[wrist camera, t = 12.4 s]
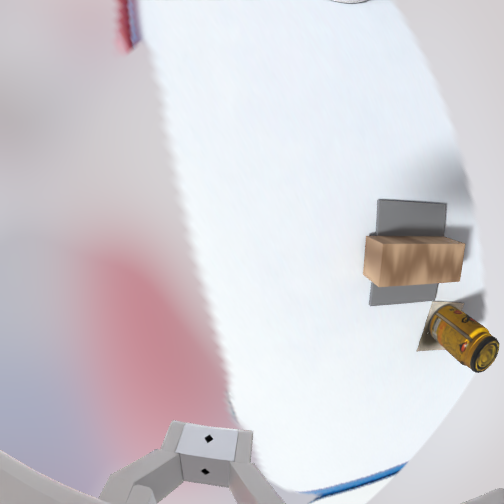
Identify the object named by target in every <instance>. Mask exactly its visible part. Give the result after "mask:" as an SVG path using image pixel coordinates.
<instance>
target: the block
mask: <svg viewBox="0 0 504 504" xmlns="http://www.w3.org/2000/svg"><path fill="white" fill-rule="evenodd" d="M464 249H465V244H464V243H461V242H458V241H456V240H453V239H450V238H447V237H439V236H366V245H365V258H364V270H363V275H364V276H366V277H367V278H368V279H369V280H371V281H372V282H373V283H374V284H375V285H377V286H378V287H389V286H406V285H420V284H434V283H447V282H459V281H460V277H461V271H462V264H463V257H464Z"/></svg>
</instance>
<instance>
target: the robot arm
mask: <svg viewBox="0 0 504 504" xmlns="http://www.w3.org/2000/svg"><path fill="white" fill-rule="evenodd" d="M333 1H337V2H344V3H358V2H363V1H366V0H333ZM252 440H253V431H249V430H239V429H228V428H219V427H209V426H203V425H198V424H192V423H187V422H180V421H176V420H173V421H172V422H171V424H170V426H169V429H168V431H167V434H166V436H165V439H164V441H163V444H162V446H161V449H160V450H159V449H155V450H154V451H152V452H150V453H149V454H147V455H145V456H144V457H142V458H140V459H138V460H137V461H135V462H133V463H131V464H130V465H128V466H126V467H124V468H122V469H121V470H119V471H117V472H115V473H113V474H111V475H110V477H109V479H108V481H107V483H106V485H105V486H104V488H103V490H102V492H101V494H100V496H99V498H98V499H97V498H95V497H92V496H90V495H87V494H84V493H82V492H80V491H77V490H75V489H73V488H70V487H68V486H66V485H64V484H62V483H60V482H57V481H55V480H53V479H51V478H49V477H47V476H45V475H43V474H41V473H39V472H37V471H36V470H34V469H32V468H30V467H28V466H26V465H25V464H23V463H21V462H19V461H18V460H16V459H14V458H13V457H11V456H9V455H8V454H6V453H5V452H3V451H1V450H0V504H157V503H158V502H159V501H161V500H162V499H163V498H164V497H166V496H167V495H168V494H169V493H171V492H172V491H173V490H174V489H176V488H177V487H178V486H179V485H180V484H182V483H183V481H188V482H194V483H201V484H208V485H215V486H221V487H228V488H229V490H230V492H231V493H232V495H233V497H234V499H235V500H236V502H237V504H286V503H284V501H283V500H282V499H281V497H280V496H279V495H278V494H277V492H276V491H275V490H274V489H273V487H272V486H271V485H270V483H269V482H268V481H267V480H266V478H265V477H264V476H263V474H262V473H261V472H260V470H259V469H258V468H257V466H256V465H255V464H253V463H250V462H251V451H252ZM461 504H504V489H503V488H499V489H495V490H493V491H491V492H489V493H486V494H484V495H481V496H479V497H477V498H474V499H471V500H469V501H466V502H463V503H461Z"/></svg>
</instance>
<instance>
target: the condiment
mask: <svg viewBox="0 0 504 504" xmlns="http://www.w3.org/2000/svg"><path fill="white" fill-rule="evenodd" d="M463 305H464V303H456V302H435V301H432V305H431V308H430V311H429V315H428V317H427V320H426V323H425V327H424V331H423V334H422V337H421V339H420V342H419V346H418V349H417V351H427V350H447V351H448V352H449V353H450V354H451V355H452V356H453V357H455V358H456V359H457V360H458V361H459V362H460V363H461V364H462V365H465V366H468V367H469V368H471V369H472V371H474V372H477V373H479V372H482V371H485V370H486V369H487V368H488V367H489V366H490V365H491V364H492V363H493V362H494V360H495V358H496V356H497V354H498V350H499V342H498V341H497V339H496V338H495V337H493V336H492V335H491V334H490V333H489V331H488V330H487V328H485V327H484V326H483V325H481V324H480V323H478V322H477V321H475V320H474V319H472V318H471V317H469V316H468V315H467V314H465V313H464V312H462V308H463ZM427 333H428V334H427Z"/></svg>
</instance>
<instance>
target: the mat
mask: <svg viewBox="0 0 504 504" xmlns="http://www.w3.org/2000/svg"><path fill="white" fill-rule="evenodd" d="M445 214H446V204H435V203H422V202H406V201H389V200H377V222H376V236H439V237H444V228H445ZM437 284H438V283H434V284H420V285H406V286H389V287H378V286H377V285H375V284H374V283H373V282H372V283H371V292H370V300H369V305H370V306H378V305H391V304H402V303H413V302H423V301H433V300H435V296H436V290H437Z"/></svg>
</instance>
